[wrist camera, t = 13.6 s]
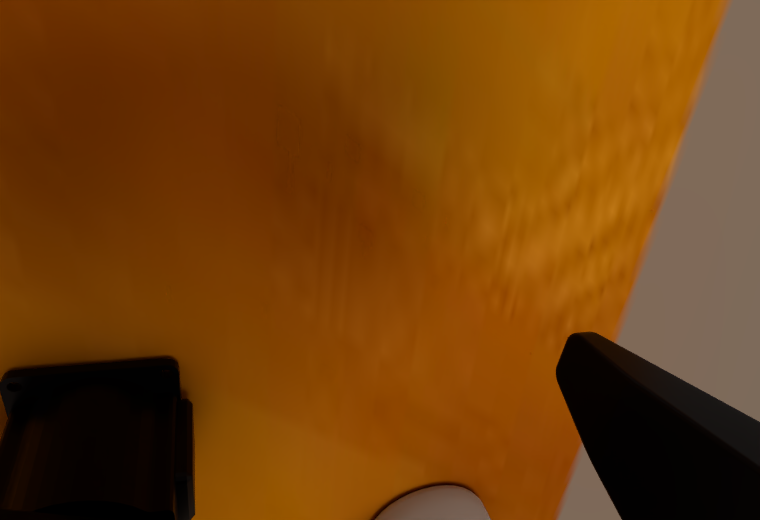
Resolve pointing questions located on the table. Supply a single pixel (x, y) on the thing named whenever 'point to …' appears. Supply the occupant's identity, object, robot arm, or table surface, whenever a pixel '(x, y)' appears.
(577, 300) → the table surface
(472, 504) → the milk bottle
